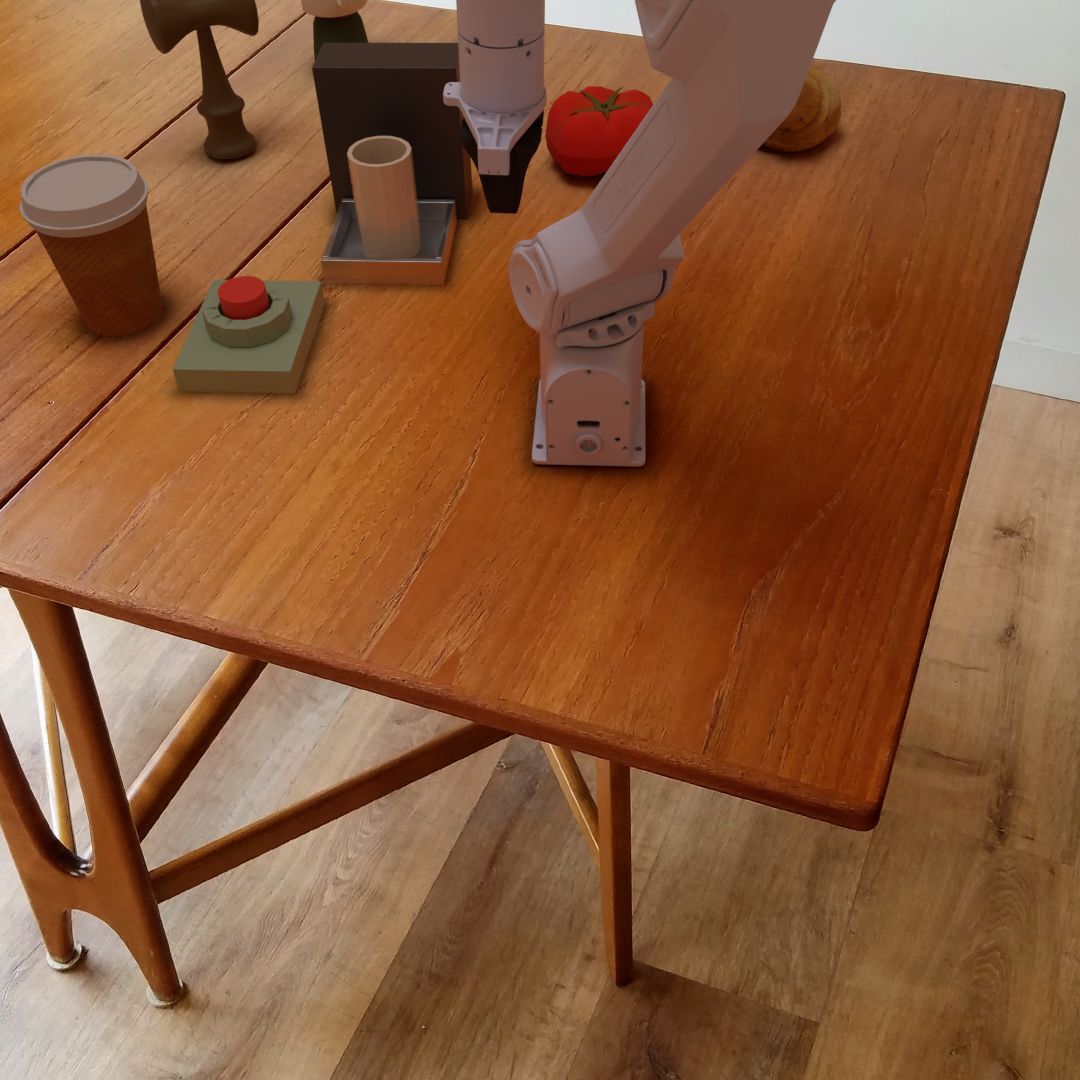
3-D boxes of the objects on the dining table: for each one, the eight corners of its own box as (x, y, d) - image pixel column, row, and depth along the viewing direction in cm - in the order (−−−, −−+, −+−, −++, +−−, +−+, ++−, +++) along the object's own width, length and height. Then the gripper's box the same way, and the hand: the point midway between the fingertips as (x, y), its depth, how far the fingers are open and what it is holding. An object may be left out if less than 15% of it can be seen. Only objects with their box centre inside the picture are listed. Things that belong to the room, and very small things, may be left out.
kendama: (287, 151, 115) (246, -65, 100) (194, 176, 111) (137, -43, 97) (266, 127, 118) (223, -84, 104) (175, 151, 115) (118, -63, 101)
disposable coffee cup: (64, 358, 92) (11, 223, 83) (65, 293, 98) (16, 161, 89) (186, 336, 93) (146, 202, 84) (179, 274, 100) (141, 143, 91)
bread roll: (695, 121, 117) (700, 42, 111) (765, 94, 121) (774, 16, 115) (784, 171, 109) (796, 88, 104) (856, 140, 113) (871, 59, 108)
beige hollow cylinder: (417, 263, 99) (406, 166, 92) (357, 263, 99) (342, 166, 93) (425, 231, 102) (415, 135, 96) (367, 230, 103) (353, 135, 96)
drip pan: (443, 285, 97) (441, 261, 96) (324, 283, 98) (320, 260, 96) (457, 222, 104) (455, 199, 103) (346, 220, 105) (342, 197, 103)
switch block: (295, 394, 88) (285, 351, 85) (179, 392, 88) (166, 349, 85) (325, 303, 96) (317, 261, 93) (219, 302, 96) (208, 260, 94)
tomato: (665, 186, 108) (669, 119, 103) (548, 192, 108) (547, 125, 103) (652, 137, 115) (656, 72, 110) (543, 142, 115) (541, 78, 110)
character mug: (390, 82, 125) (375, -46, 116) (326, 94, 123) (306, -34, 114) (361, 44, 132) (345, -79, 123) (300, 55, 130) (279, -68, 121)
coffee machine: (467, 220, 105) (455, 67, 95) (337, 219, 105) (311, 67, 95) (473, 192, 108) (462, 42, 98) (346, 191, 109) (323, 42, 99)
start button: (263, 321, 88) (259, 302, 87) (217, 321, 88) (212, 301, 87) (274, 295, 91) (269, 275, 89) (229, 294, 91) (224, 275, 90)
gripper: (452, -24, 80) (460, 152, 91) (426, 81, 71) (438, 264, 81) (553, -20, 80) (550, 156, 90) (541, 85, 71) (538, 269, 81)
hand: (503, 208), depth 86 cm, fingers closed
